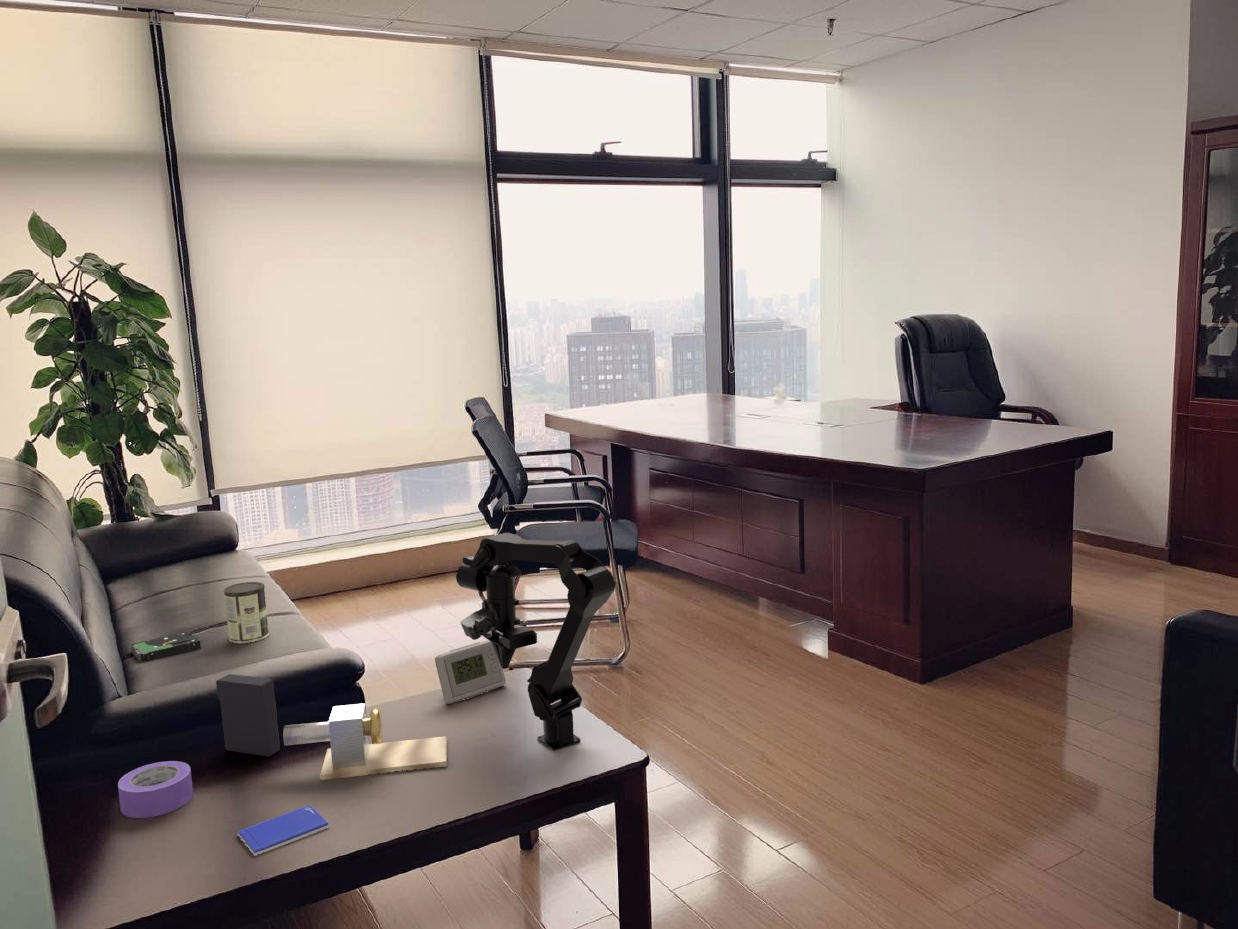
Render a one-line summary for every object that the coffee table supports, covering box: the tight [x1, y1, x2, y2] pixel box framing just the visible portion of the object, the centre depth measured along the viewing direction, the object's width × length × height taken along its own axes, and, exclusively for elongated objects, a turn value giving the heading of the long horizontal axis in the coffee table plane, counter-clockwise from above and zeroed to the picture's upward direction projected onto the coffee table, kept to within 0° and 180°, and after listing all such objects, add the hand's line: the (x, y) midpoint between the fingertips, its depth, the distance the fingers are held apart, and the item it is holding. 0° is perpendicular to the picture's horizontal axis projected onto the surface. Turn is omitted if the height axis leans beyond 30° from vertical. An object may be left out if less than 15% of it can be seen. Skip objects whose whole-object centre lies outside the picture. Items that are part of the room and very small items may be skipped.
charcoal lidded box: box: [215, 673, 281, 757], centre depth 187 cm, size 11×4×15 cm, turn 71°
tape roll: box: [117, 760, 194, 819], centre depth 169 cm, size 12×12×5 cm
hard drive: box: [236, 804, 330, 857], centre depth 158 cm, size 2×8×12 cm
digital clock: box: [434, 639, 507, 705], centre depth 213 cm, size 16×9×11 cm, turn 120°
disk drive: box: [130, 630, 202, 663], centre depth 248 cm, size 10×3×15 cm
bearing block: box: [328, 703, 369, 769], centre depth 180 cm, size 6×7×9 cm
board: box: [319, 736, 448, 781], centre depth 182 cm, size 23×11×1 cm, turn 100°
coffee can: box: [222, 581, 270, 644], centre depth 255 cm, size 10×10×14 cm
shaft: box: [282, 707, 383, 746], centre depth 180 cm, size 18×7×7 cm, turn 100°
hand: (504, 668), depth 195 cm, fingers closed
